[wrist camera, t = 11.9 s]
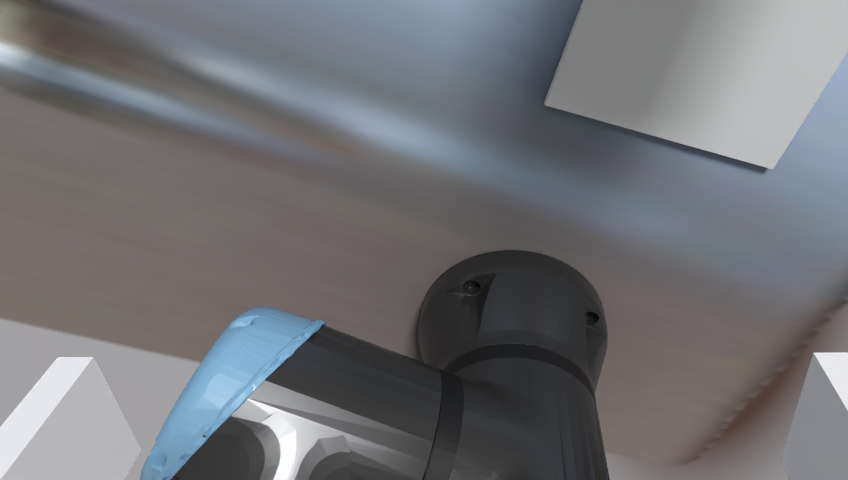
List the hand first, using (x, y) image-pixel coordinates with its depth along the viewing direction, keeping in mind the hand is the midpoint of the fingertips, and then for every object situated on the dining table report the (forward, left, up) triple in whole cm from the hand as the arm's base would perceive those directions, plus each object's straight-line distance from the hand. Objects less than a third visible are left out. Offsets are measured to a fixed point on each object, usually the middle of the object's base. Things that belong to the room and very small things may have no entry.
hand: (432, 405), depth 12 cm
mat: (+3, -14, -33) cm, 36 cm away
